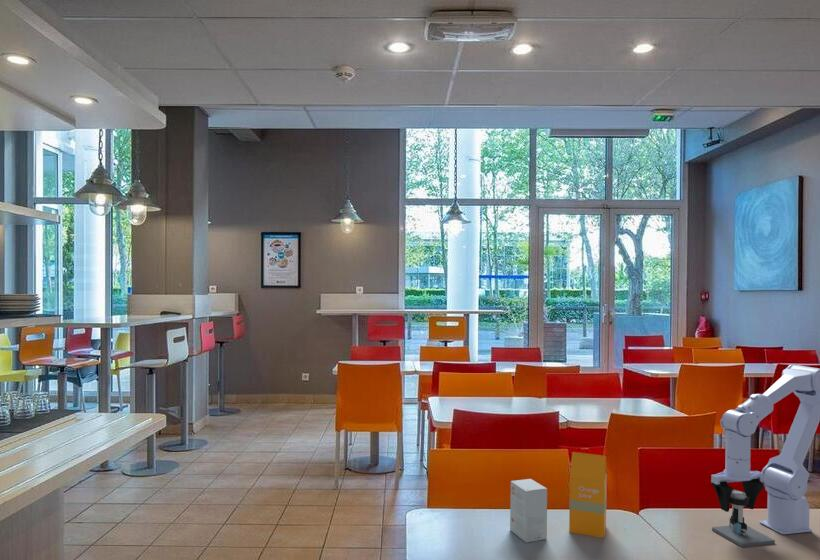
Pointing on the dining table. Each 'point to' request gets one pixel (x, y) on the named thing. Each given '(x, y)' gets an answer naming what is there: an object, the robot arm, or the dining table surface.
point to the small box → (528, 510)
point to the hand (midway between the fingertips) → (737, 509)
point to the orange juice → (588, 494)
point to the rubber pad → (740, 539)
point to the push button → (738, 512)
